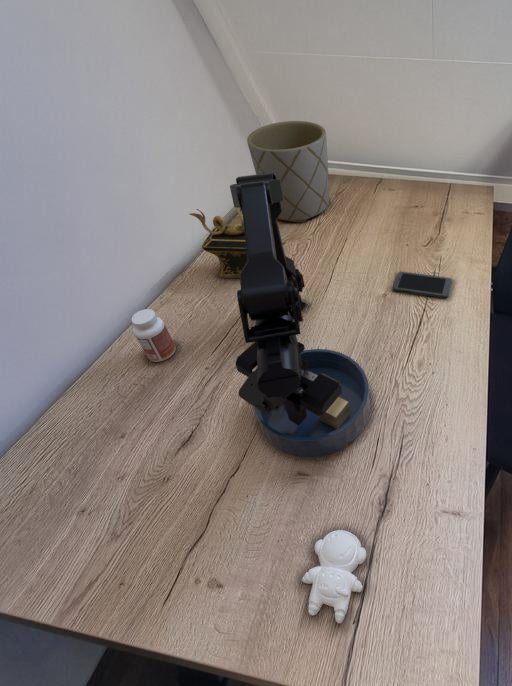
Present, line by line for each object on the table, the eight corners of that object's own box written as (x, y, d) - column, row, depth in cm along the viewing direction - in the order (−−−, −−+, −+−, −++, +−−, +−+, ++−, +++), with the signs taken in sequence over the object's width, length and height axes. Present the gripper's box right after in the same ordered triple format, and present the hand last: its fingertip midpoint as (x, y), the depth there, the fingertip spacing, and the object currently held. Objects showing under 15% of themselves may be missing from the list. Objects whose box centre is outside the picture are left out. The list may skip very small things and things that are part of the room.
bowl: (236, 423, 87) (229, 406, 83) (306, 353, 99) (303, 335, 96) (325, 479, 77) (321, 462, 74) (390, 393, 90) (390, 375, 86)
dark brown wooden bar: (288, 420, 83) (278, 382, 76) (297, 410, 85) (288, 372, 77) (298, 425, 82) (289, 388, 75) (307, 416, 84) (299, 378, 76)
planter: (304, 233, 136) (292, 156, 120) (248, 215, 145) (230, 142, 129) (347, 200, 149) (341, 127, 133) (293, 185, 159) (281, 116, 143)
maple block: (320, 420, 85) (318, 407, 83) (333, 405, 88) (331, 392, 85) (337, 430, 84) (335, 417, 81) (350, 414, 86) (348, 401, 83)
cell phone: (447, 298, 110) (448, 296, 110) (392, 290, 113) (392, 288, 113) (452, 280, 115) (452, 278, 115) (398, 273, 119) (398, 271, 118)
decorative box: (281, 260, 126) (267, 194, 112) (272, 281, 119) (256, 214, 105) (213, 257, 128) (191, 193, 115) (200, 278, 121) (175, 212, 108)
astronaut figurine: (291, 609, 63) (288, 602, 61) (323, 526, 71) (321, 517, 69) (351, 630, 61) (349, 624, 59) (376, 542, 69) (375, 534, 67)
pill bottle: (175, 339, 104) (158, 303, 97) (177, 358, 100) (159, 321, 92) (147, 347, 103) (127, 310, 95) (147, 366, 99) (126, 329, 91)
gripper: (199, 355, 69) (225, 415, 80) (291, 407, 61) (307, 466, 72) (250, 313, 76) (268, 374, 87) (339, 355, 68) (347, 416, 79)
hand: (295, 406), depth 81 cm, fingers closed on dark brown wooden bar, 2 cm apart
